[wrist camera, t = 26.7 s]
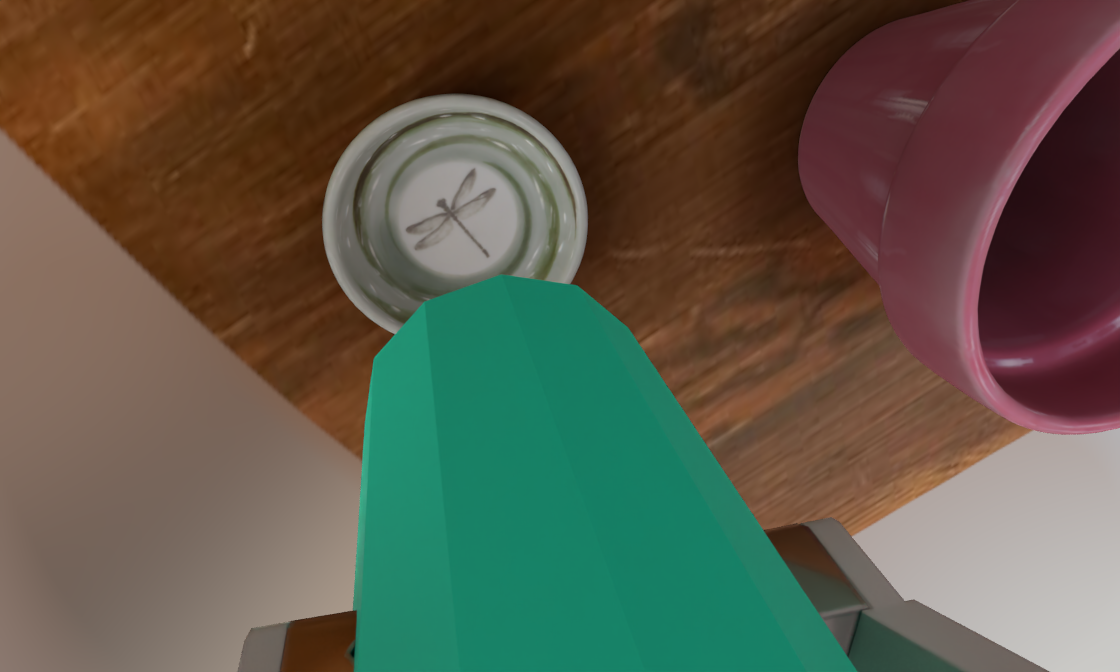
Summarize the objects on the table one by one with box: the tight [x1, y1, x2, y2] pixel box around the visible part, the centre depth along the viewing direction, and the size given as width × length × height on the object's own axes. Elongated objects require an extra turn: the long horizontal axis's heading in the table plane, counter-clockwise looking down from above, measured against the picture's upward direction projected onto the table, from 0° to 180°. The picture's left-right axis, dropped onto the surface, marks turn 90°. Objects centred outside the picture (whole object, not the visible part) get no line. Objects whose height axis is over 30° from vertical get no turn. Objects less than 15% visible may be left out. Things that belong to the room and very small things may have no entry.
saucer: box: [322, 94, 588, 334], centre depth 25 cm, size 10×10×2 cm
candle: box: [353, 274, 857, 672], centre depth 9 cm, size 6×6×12 cm
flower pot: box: [798, 0, 1120, 434], centre depth 23 cm, size 14×14×13 cm
